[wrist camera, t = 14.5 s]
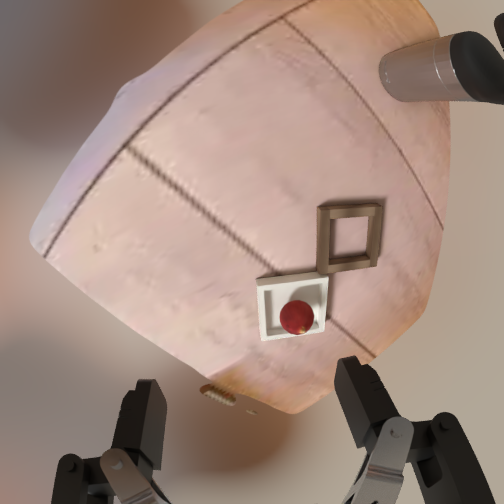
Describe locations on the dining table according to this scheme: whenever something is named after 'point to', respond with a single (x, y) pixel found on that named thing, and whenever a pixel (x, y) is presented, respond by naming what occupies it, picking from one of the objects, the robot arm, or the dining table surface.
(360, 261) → the frame
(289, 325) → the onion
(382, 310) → the dining table surface
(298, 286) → the tray
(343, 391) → the robot arm
